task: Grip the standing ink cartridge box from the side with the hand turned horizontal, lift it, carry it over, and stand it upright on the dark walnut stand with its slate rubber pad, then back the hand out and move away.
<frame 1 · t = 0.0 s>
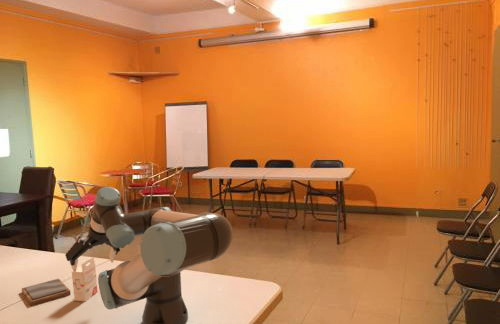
hand: (92, 264, 153), 15 cm above the table, tool tilted 35°, fingers open, 13 cm apart
walnut stand: (46, 293, 166), on the table
ink cartridge box: (86, 296, 162), on the table
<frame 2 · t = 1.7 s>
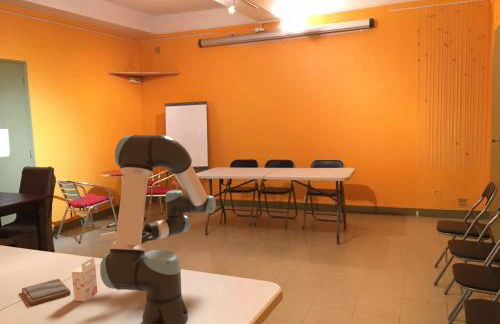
hand: (106, 241, 165), 20 cm above the table, tool horizontal, fingers open, 13 cm apart
nothing on the table moved.
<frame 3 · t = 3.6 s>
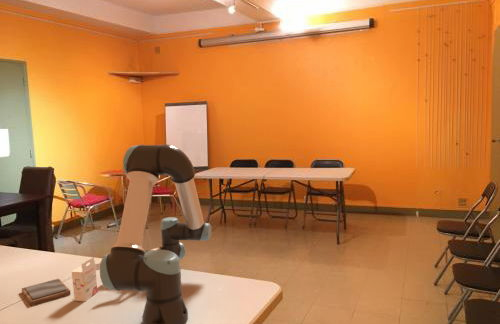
hand: (101, 271, 165), 8 cm above the table, tool horizontal, fingers open, 13 cm apart
nothing on the table moved.
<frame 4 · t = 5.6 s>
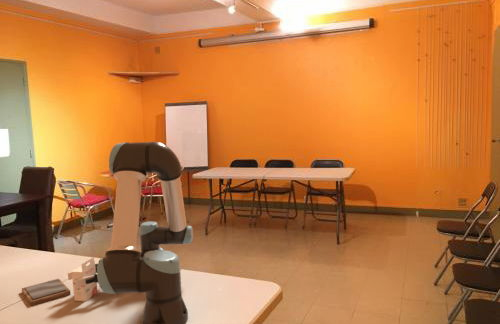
hand: (72, 279, 158), 8 cm above the table, tool horizontal, fingers closed on ink cartridge box, 9 cm apart
ink cartridge box: (86, 296, 162), on the table, touching gripper
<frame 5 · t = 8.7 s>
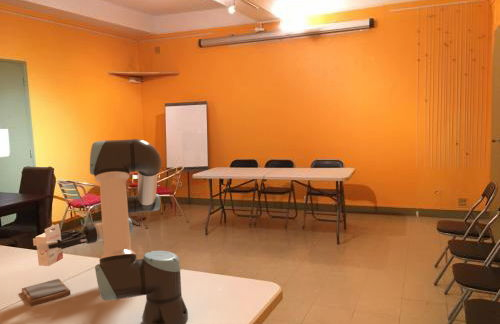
hand: (35, 245, 161), 20 cm above the table, tool horizontal, fingers closed on ink cartridge box, 9 cm apart
ink cartridge box: (51, 262, 165), point 12 cm above the table, touching gripper
when the fingers open (11 cm above the table, at t = 11.4 s): ink cartridge box drops 1 cm, resting on walnut stand.
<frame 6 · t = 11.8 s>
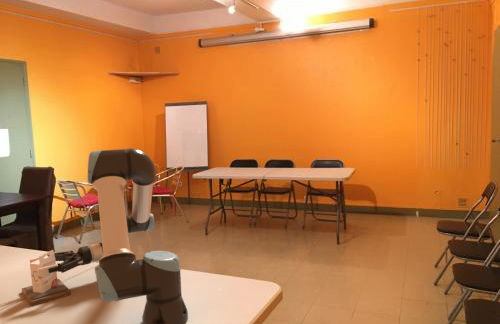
hand: (34, 267, 162), 11 cm above the table, tool horizontal, fingers open, 13 cm apart
ink cartridge box: (45, 288, 165), point 2 cm above the table, touching walnut stand
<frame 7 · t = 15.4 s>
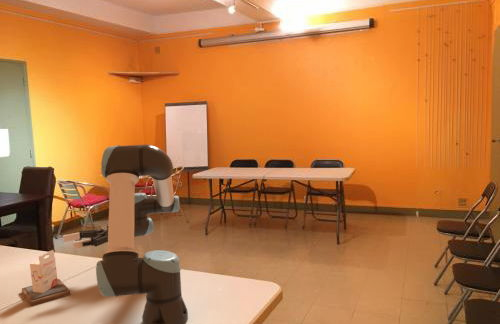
hand: (68, 242, 170), 18 cm above the table, tool horizontal, fingers open, 13 cm apart
nothing on the table moved.
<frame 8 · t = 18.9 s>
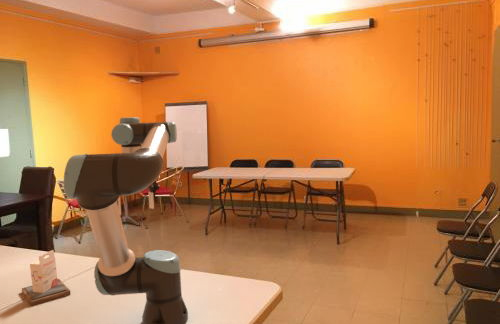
hand: (135, 211, 163), 32 cm above the table, tool pointing down, fingers open, 13 cm apart
nothing on the table moved.
at the end: ink cartridge box inside the target area on the walnut stand (0.2 cm from its centre), point 1.8 cm above the walnut stand's base; ink cartridge box tilted 0°; the gripper is holding nothing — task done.
